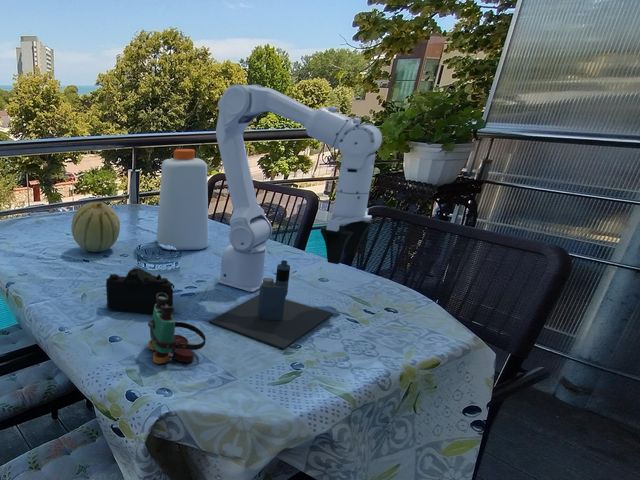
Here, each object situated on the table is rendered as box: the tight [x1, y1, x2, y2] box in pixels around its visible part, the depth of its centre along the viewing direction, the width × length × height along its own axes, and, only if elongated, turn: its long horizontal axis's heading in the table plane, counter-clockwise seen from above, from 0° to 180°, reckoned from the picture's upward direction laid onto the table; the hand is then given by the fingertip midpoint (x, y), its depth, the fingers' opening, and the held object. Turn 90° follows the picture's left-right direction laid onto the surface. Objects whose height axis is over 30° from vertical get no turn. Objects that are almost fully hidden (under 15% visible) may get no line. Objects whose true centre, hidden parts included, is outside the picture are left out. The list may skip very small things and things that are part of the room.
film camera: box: [105, 267, 175, 316], centre depth 101 cm, size 15×10×9 cm, turn 71°
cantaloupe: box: [70, 201, 121, 253], centre depth 138 cm, size 15×15×15 cm
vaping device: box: [257, 259, 291, 320], centre depth 91 cm, size 3×5×12 cm, turn 79°
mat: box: [209, 294, 334, 351], centre depth 94 cm, size 16×20×1 cm
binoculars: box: [147, 293, 207, 365], centre depth 81 cm, size 9×11×10 cm
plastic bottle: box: [156, 148, 210, 251], centre depth 138 cm, size 15×15×28 cm
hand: (341, 258), depth 95 cm, fingers open, 7 cm apart
